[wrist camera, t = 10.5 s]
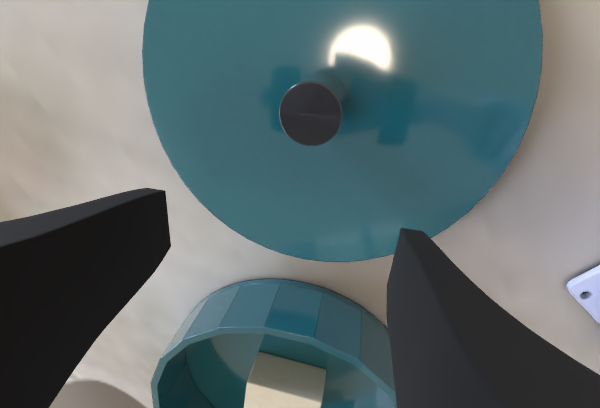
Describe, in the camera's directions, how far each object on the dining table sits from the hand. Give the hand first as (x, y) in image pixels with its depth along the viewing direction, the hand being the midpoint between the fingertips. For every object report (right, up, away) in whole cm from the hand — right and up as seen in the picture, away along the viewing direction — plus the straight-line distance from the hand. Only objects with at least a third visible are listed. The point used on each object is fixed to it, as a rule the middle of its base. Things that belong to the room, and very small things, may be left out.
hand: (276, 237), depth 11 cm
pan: (0, -11, +16) cm, 19 cm away
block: (0, -12, +15) cm, 19 cm away
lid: (+2, +6, +6) cm, 9 cm away
